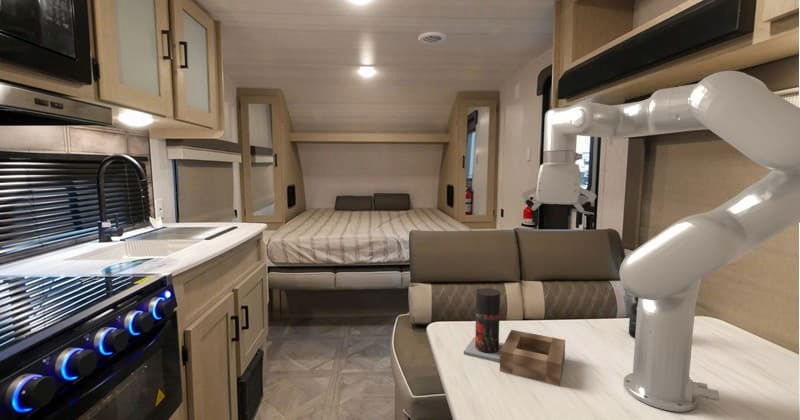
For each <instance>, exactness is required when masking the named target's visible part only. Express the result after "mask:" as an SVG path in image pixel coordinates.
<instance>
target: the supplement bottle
mask: <svg viewBox="0 0 800 420" xmlns="http://www.w3.org/2000/svg"><path fill="white" fill-rule="evenodd" d="M638 299H639V298H638V297H636V296H634V302H632V303H631V305H629V321H628V335H629V336H630V337H631V338H632V339H635V332H636V317H637V306H638Z"/></svg>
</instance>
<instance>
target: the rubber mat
mask: <svg viewBox="0 0 800 420" xmlns="http://www.w3.org/2000/svg"><path fill="white" fill-rule="evenodd" d="M504 343H505V342H499V350H498V351H497V352H496V353H483V352H480V351H478V350H477V349H476V348H475V336H473V338H472V339H471V341H470V342H469V344H468V345H467V346H466V347H465V349H464V350H463V355H465V356H470V357H474V358H478V359H481V360H483V359H484V360H486V361H492V362H495V363H500V350H501V348H502V347H503V345H504Z"/></svg>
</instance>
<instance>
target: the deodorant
mask: <svg viewBox="0 0 800 420" xmlns="http://www.w3.org/2000/svg"><path fill="white" fill-rule="evenodd" d="M475 294H476V295H475V298H476V299H475V331H474V332H475V336H474V337H475V348H476V349H477V350H478V351H480V352H483V353H496V352H497V351H498V350H499V343H500V314H501V313H500V309H501V308H500V307H501V291H499V290H498V289H495V288H491V287H490V288H489V287H483V288H478V289H476V291H475Z"/></svg>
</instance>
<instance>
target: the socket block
mask: <svg viewBox="0 0 800 420" xmlns="http://www.w3.org/2000/svg"><path fill="white" fill-rule="evenodd" d="M503 343H504V345H503V347H502V348H501V350H500V362H499V372H500V373H505V374H508V375H509V374H510V375H513V376H518V377H521V378H524V379H525V378H526V379H529V380H534V381H537V382H542V383H545V384H549V385H554V386H558V387H561V384H562V377H563V372H564V371H563V370H564V365H565V358H566V357H565V356H566V339H563V338H557V337H552V336H547V335H541V334H538V333H537V334H536V333H529V332H525V331H521V330H515V329H511V330H510V332H509V333H508V334H507V337H506V339H505V341H504V342H503Z"/></svg>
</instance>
